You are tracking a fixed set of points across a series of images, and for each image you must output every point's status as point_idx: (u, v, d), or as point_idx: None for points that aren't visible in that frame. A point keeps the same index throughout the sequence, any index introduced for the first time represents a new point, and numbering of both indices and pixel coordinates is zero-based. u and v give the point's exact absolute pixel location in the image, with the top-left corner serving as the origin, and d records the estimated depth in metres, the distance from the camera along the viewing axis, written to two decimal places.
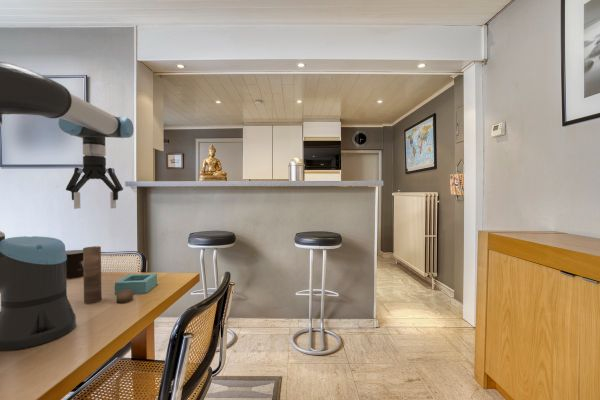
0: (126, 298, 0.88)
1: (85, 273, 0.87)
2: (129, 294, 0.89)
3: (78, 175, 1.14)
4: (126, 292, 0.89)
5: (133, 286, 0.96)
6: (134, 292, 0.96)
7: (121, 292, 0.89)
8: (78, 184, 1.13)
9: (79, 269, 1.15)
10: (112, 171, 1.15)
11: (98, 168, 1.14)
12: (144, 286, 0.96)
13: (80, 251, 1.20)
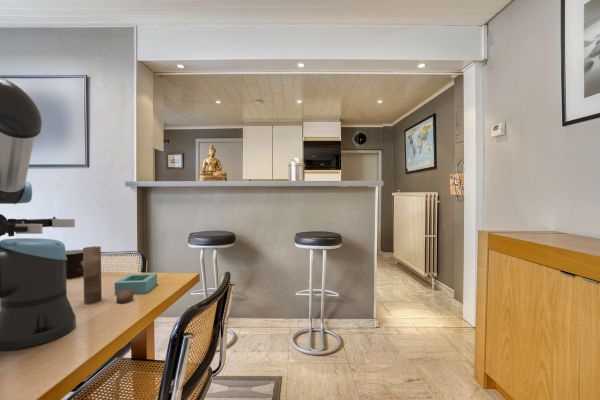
0: (126, 298, 0.88)
1: (85, 273, 0.87)
2: (129, 294, 0.89)
3: None
4: (126, 292, 0.89)
5: (133, 286, 0.96)
6: (134, 292, 0.96)
7: (121, 292, 0.89)
8: (8, 224, 0.82)
9: (79, 269, 1.15)
10: None
11: None
12: (144, 286, 0.96)
13: (80, 251, 1.20)
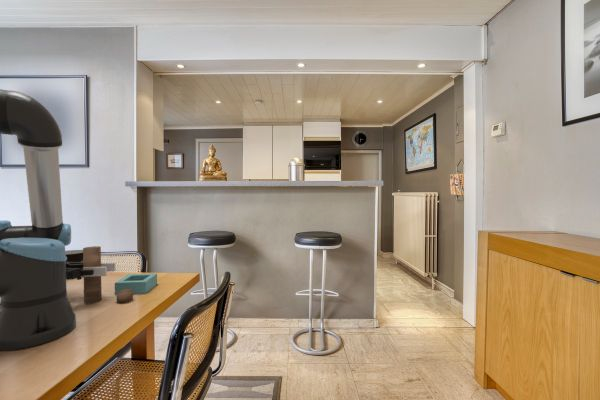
0: (127, 298, 0.89)
1: None
2: (129, 294, 0.89)
3: None
4: (126, 292, 0.89)
5: (133, 286, 0.96)
6: (134, 292, 0.96)
7: (121, 292, 0.89)
8: (69, 268, 0.86)
9: None
10: None
11: None
12: (144, 286, 0.96)
13: (80, 251, 1.20)
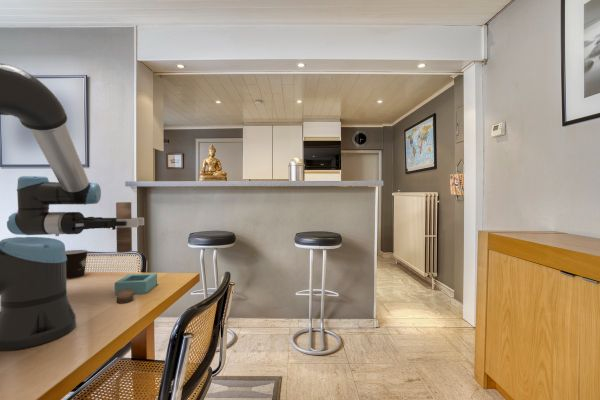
0: (129, 297, 0.89)
1: None
2: (132, 292, 0.90)
3: None
4: (128, 291, 0.90)
5: (133, 286, 0.96)
6: (134, 292, 0.96)
7: (122, 291, 0.89)
8: (104, 220, 0.95)
9: (79, 269, 1.15)
10: None
11: None
12: (144, 286, 0.96)
13: (80, 251, 1.20)
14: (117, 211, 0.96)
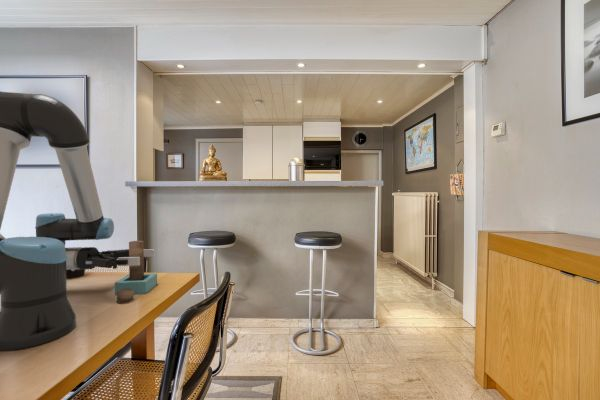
0: (132, 296, 0.91)
1: None
2: (133, 291, 0.91)
3: None
4: (129, 290, 0.90)
5: (133, 286, 0.96)
6: (134, 292, 0.96)
7: (124, 292, 0.89)
8: (109, 257, 0.95)
9: (79, 269, 1.15)
10: None
11: None
12: (144, 286, 0.96)
13: None
14: (130, 251, 0.98)
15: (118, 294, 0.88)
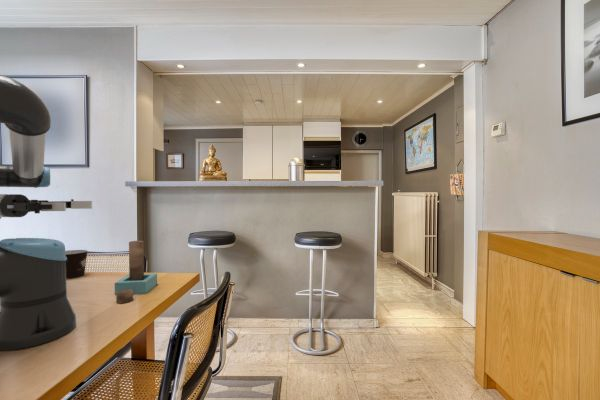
0: None
1: (131, 264, 0.98)
2: None
3: None
4: (127, 289, 0.91)
5: (133, 286, 0.96)
6: (134, 292, 0.96)
7: (126, 291, 0.90)
8: None
9: (79, 269, 1.15)
10: None
11: None
12: (144, 286, 0.96)
13: (80, 251, 1.20)
14: (130, 251, 0.98)
15: (124, 294, 0.88)
